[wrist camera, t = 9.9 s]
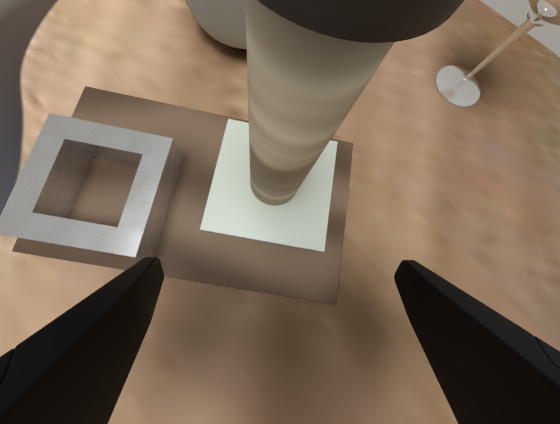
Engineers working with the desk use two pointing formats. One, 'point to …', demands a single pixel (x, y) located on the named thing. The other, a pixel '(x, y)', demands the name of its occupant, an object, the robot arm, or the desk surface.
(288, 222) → the coaster
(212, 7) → the teacup
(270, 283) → the board
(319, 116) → the peg
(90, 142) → the collar
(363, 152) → the desk surface
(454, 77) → the wineglass
